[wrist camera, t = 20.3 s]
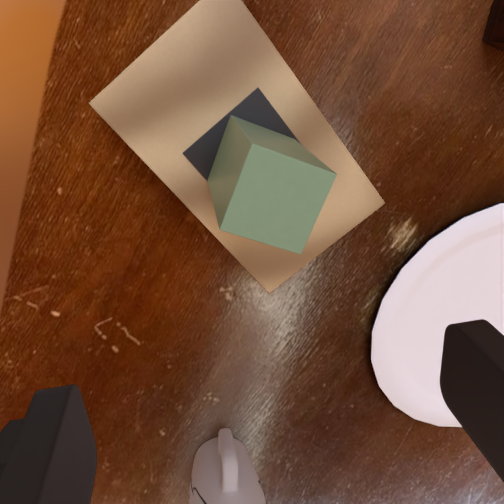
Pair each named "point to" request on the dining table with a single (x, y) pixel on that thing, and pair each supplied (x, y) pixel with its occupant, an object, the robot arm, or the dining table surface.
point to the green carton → (267, 186)
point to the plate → (437, 310)
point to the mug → (224, 473)
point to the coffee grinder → (495, 26)
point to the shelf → (216, 119)
